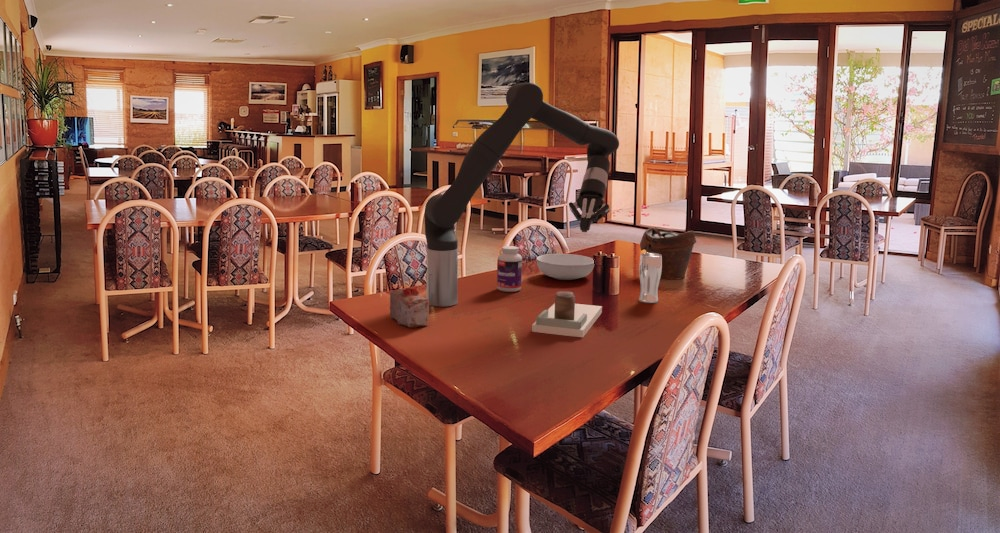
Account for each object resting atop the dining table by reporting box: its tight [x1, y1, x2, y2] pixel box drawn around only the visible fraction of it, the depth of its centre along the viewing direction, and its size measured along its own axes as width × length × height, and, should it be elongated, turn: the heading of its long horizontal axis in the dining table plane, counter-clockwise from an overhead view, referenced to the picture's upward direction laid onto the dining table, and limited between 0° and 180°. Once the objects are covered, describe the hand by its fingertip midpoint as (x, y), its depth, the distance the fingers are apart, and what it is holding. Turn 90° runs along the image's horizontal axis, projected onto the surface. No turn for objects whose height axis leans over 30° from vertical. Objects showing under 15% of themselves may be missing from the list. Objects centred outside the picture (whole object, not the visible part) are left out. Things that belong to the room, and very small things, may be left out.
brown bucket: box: [639, 227, 697, 280], centre depth 266 cm, size 18×20×18 cm
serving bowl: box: [536, 253, 595, 281], centre depth 261 cm, size 21×21×7 cm
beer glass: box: [638, 252, 662, 304], centre depth 229 cm, size 7×7×15 cm
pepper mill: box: [554, 290, 576, 321], centre depth 198 cm, size 5×5×8 cm
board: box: [531, 302, 603, 338], centre depth 206 cm, size 26×14×4 cm, turn 161°
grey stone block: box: [389, 287, 430, 329], centre depth 202 cm, size 14×8×10 cm, turn 35°
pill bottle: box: [496, 245, 523, 293], centre depth 241 cm, size 8×8×14 cm
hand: (584, 230), depth 216 cm, fingers closed
